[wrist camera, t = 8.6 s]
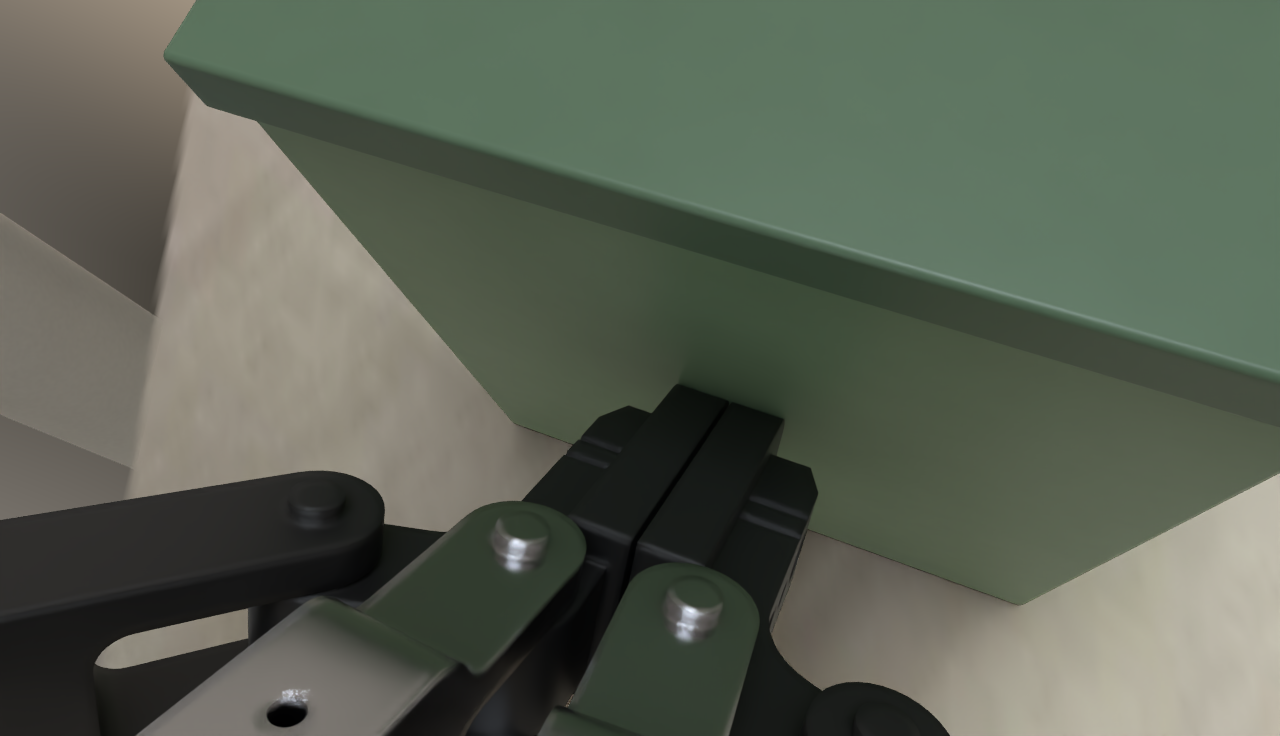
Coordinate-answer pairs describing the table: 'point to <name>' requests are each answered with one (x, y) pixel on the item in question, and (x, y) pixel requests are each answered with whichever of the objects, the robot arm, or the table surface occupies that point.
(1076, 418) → the storage box
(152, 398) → the table surface
